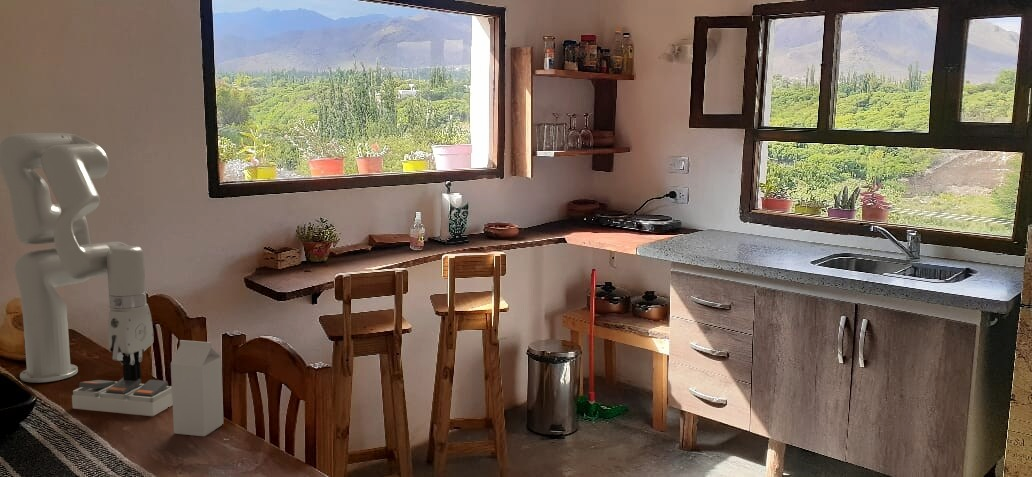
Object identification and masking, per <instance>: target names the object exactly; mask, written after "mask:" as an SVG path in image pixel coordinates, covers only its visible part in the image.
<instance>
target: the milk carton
mask: <svg viewBox="0 0 1032 477" xmlns="http://www.w3.org/2000/svg"><path fill="white" fill-rule="evenodd" d="M222 372H223V371H222V357H221V355H220V354H219V353H218V352H217V351H216V350H215V349H214V348H213V347H212V342H208V341H197V340H185V339H184V340H183V339H180V340H179V346H178V348H177V351H176V353H175V354H174V356H173V358H172V360H171V362H170V378H171V386H172V402H173V405H172V419H173V421H172V422H173V434H174V435H175V434H176V435H186V436H187V435H189V436H197V437H206V436H207V435H210V434H211V433H213V432H214V431H215V430H216V429H219V428H220V427H221V426H223V425H224V404H223V403H224V402H223V401H224V400H223V399H224V398H223V379H222V378H223V376H222V374H223V373H222ZM222 424H223V425H222Z"/></svg>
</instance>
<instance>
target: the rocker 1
mask: <svg viewBox="0 0 1032 477" xmlns="http://www.w3.org/2000/svg"><path fill="white" fill-rule="evenodd" d="M115 381H116V380H115ZM115 381H114V380H104V379H96V380H88V381H87V380H86V381H80V382H79V385H78V388H80V387H83V388H94V389H98V388H104V387H109V386H111V385H113V384H115Z"/></svg>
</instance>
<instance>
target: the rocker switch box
mask: <svg viewBox="0 0 1032 477" xmlns="http://www.w3.org/2000/svg"><path fill="white" fill-rule="evenodd" d="M117 382H118V381H116V380H115V383H117ZM144 384H145V383H140V384H139V385H138V386H137V387H135V388H134V389H133V390H132V391H130V392H128V393H126V394H113V393H107V392H106V390H108V389H109V388H110V387H111V386H113V385H114V384H113V385H111V386H109V387H104V388H98V389H94V388H83V387H78V388H75V389H74V390H72V395H71V403H72V404H71V405H72V409H74V410H85V411H96V412H103V413H104V412H107V413H116V414H117V413H118V414H125V415H136V416H148V417H154V416H156V415H157V414H159V413H161V412H163V411H165V410H167V409H169V408H171V407H173V402H172V385H170V386H169V385H168V386H166V387H165V388H164V389H163V390H162V391H161V392H159V393H158V394H157V395H155V396H153V397H146V396H135V395H134V394H133V393H134V392H136V391H137V390H138V389H139V388H140V387H142V386H143V385H144ZM168 407H169V408H168Z"/></svg>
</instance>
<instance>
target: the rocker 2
mask: <svg viewBox="0 0 1032 477" xmlns="http://www.w3.org/2000/svg"><path fill="white" fill-rule="evenodd" d="M116 382H117V383H115V384H114V385H113V386H111V387H110V388H109V389H108V390H106V392H107V393H113V394H126V393H128V392H130V391H132V390H133V389H134V388H135V387H137V386H138V385H139V384H142V378H141V379H138V380H137V381H132V380H124V376H123V377H122V378H121V379H119V380H118V381H116Z"/></svg>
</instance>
